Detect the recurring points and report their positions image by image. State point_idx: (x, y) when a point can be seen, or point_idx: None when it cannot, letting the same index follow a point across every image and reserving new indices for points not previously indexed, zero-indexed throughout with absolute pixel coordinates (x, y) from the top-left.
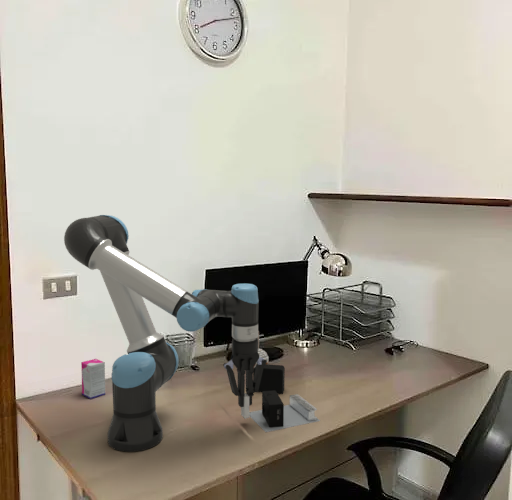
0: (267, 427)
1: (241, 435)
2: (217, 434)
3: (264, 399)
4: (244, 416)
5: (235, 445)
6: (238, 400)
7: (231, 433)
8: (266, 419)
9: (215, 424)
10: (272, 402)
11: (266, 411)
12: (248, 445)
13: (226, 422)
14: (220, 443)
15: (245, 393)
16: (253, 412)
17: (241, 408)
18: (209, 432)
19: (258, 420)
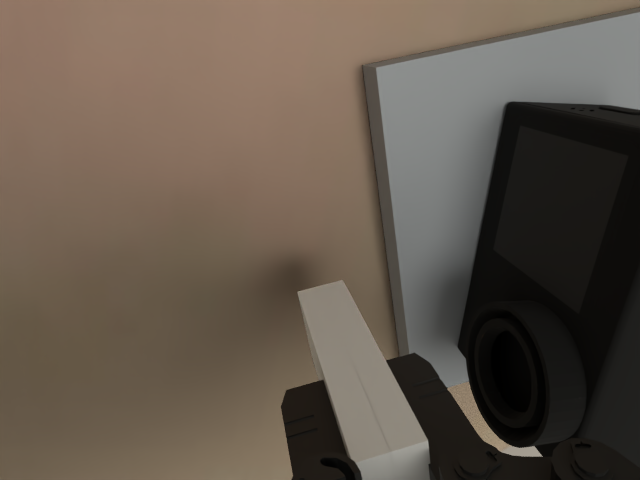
0: (446, 343)
1: (262, 344)
2: (86, 316)
3: (599, 272)
4: (315, 368)
5: (204, 448)
6: (289, 448)
7: (196, 313)
8: (481, 283)
9: (65, 147)
10: (616, 443)
11: (504, 430)
12: (280, 449)
13: (172, 127)
14: (108, 426)
15: (419, 452)
16: (440, 78)
17: (311, 340)
18: (15, 281)
19: (427, 236)
